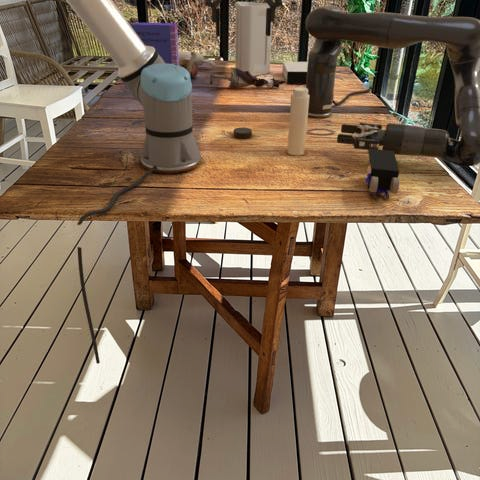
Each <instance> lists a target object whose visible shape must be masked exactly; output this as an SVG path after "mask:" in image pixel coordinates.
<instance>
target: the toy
mask: <svg viewBox="0 0 480 480" xmlns="http://www.w3.org/2000/svg"><path fill="white" fill-rule="evenodd" d="M178 52H179V62H180V61H181V59H183V58H185V59H189V60H190V59H191V57H192V55H191V52H187V51H178ZM194 52H195V53H196V59H195V61H194V62H195V64H196V66H197V68H198V69H199V66H202V65H204V64H209V65H210V66H211V67H213V68H214V67H217V66H216V63H215V62H214V61H213V60H211V59H209V58H206V59H205V57H204V56H203V55H201V54H198V52H197V51H194Z"/></svg>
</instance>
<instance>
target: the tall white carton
mask: <svg viewBox="0 0 480 480" xmlns="http://www.w3.org/2000/svg"><path fill="white" fill-rule="evenodd" d="M266 8H270V7H269V5H268V4H267V2H265V3H264V2H252V1H235V59H234V60H235V62H234V63H235V65H234V66H235V67H234V68H237V69H240V70H242V71H244V72H245V71H249V72H250V73H251V75H252V76H256V77H257V76H259V75H260V76H261V75H266V74H270V73H271V56H272V55H271V54H272V33H273V32H272V31H273V22H271V34H270V36H267V35H265V34H266Z"/></svg>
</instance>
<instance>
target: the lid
mask: <svg viewBox="0 0 480 480" xmlns="http://www.w3.org/2000/svg"><path fill="white" fill-rule="evenodd" d="M252 136H253V130H252V128H249V127H243V126H242V127H235V128H234V129H233V138H235V139H238V140H247V139H251V138H253V137H252Z"/></svg>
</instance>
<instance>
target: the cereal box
mask: <svg viewBox="0 0 480 480" xmlns="http://www.w3.org/2000/svg"><path fill="white" fill-rule="evenodd" d="M128 23H129V24H130V26H131V27H132V28H133V30H134V31H135V32H136V34H137V35H138V37H139V38H140V39H141V41H142V42H143V43H144V45H146V46H151V47H154V48H155V50H156V51H157V52H158V54H159V55H160V57H161V58H162V59H163V61H164V62H165V63H167V64H174V65H176V66H179V52H180V51H179V35H178V23H175V22H174V23H171V22H170V23H169V22H133V21H131V22H130V21H129V22H128Z"/></svg>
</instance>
